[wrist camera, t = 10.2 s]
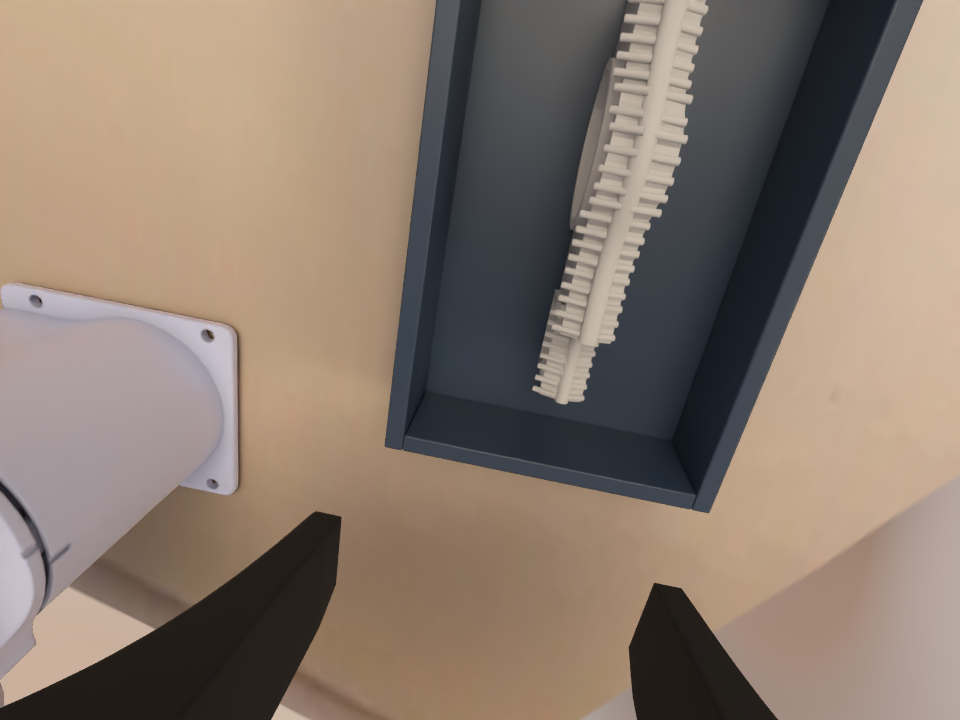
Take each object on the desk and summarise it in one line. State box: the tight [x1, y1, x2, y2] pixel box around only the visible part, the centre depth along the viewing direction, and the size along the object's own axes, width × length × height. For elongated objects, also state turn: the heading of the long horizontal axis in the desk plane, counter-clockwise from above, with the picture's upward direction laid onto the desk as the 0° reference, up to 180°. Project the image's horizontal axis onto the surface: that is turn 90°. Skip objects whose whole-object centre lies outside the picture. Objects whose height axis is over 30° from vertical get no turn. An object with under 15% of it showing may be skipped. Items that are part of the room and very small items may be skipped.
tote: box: [385, 0, 923, 513], centre depth 16 cm, size 11×17×4 cm, turn 170°
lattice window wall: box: [532, 0, 708, 404], centre depth 14 cm, size 12×2×6 cm, turn 170°
